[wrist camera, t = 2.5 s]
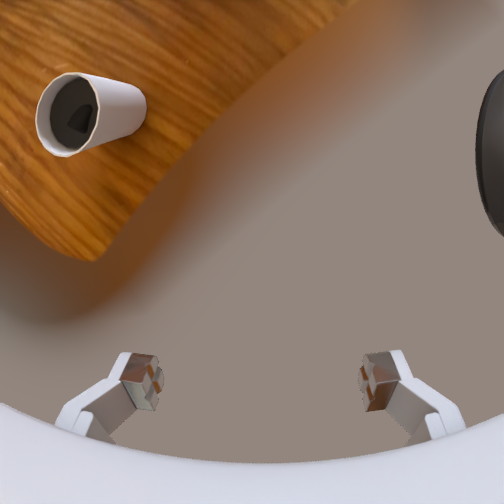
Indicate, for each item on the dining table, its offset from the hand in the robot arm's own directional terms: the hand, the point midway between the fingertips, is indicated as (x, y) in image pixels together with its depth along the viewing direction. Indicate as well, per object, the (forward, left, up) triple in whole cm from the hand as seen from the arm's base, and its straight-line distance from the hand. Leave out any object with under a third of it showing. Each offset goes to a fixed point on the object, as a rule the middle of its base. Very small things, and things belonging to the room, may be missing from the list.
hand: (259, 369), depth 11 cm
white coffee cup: (+12, -14, -21) cm, 28 cm away
